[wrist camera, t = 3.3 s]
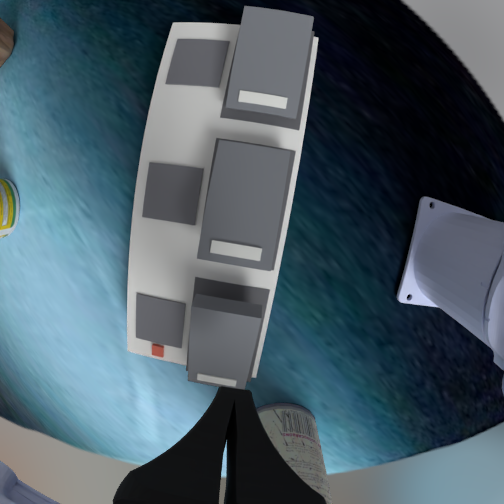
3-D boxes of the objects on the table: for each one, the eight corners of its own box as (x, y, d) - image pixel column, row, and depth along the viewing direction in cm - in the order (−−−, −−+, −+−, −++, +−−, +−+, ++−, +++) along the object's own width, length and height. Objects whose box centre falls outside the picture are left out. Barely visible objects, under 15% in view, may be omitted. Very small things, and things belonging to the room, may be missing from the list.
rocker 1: (309, 26, 13) (314, 16, 11) (293, 119, 15) (296, 118, 14) (247, 16, 13) (244, 5, 11) (229, 109, 15) (225, 107, 14)
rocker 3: (262, 299, 16) (261, 319, 15) (246, 370, 19) (244, 392, 17) (198, 287, 16) (190, 307, 15) (193, 361, 19) (187, 381, 17)
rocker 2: (285, 161, 16) (290, 150, 14) (268, 269, 16) (271, 271, 14) (222, 150, 16) (219, 139, 14) (202, 257, 16) (196, 258, 14)
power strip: (311, 51, 17) (319, 31, 14) (255, 358, 22) (254, 384, 18) (184, 37, 17) (173, 16, 13) (141, 336, 22) (126, 357, 18)
